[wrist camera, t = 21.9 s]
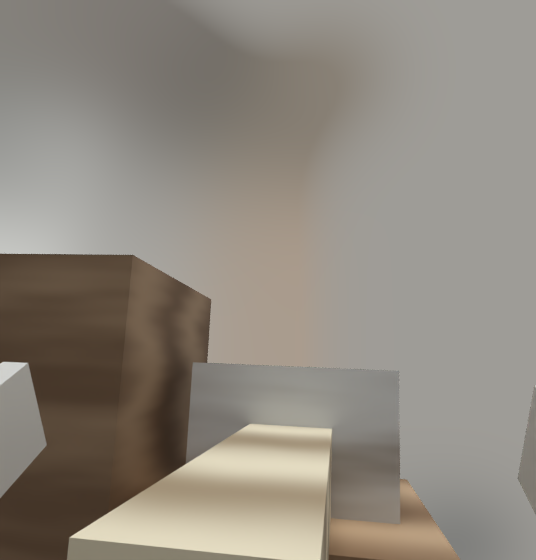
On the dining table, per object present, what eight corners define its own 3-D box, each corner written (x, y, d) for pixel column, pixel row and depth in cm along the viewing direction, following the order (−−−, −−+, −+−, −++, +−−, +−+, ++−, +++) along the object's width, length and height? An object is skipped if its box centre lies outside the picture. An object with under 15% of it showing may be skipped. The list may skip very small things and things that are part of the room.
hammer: (572, 948, 5) (536, 376, 6) (-149, 797, 6) (-73, 349, 7) (385, 487, 24) (384, 370, 26) (217, 474, 26) (224, 363, 27)
